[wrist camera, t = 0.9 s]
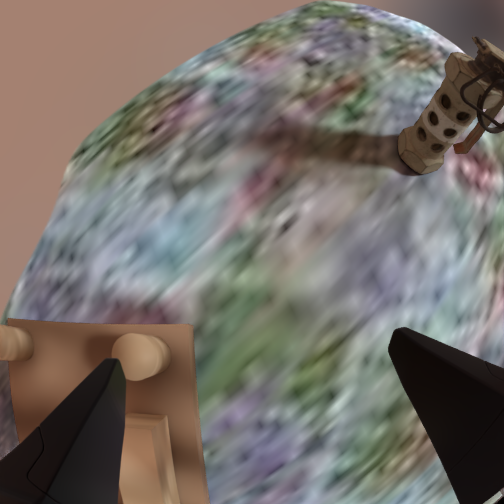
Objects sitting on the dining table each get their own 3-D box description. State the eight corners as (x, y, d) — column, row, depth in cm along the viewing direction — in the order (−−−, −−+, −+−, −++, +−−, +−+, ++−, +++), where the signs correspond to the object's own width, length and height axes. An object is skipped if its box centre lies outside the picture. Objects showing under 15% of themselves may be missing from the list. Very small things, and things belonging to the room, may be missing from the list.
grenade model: (399, 186, 24) (494, 70, 10) (394, 130, 26) (460, 19, 12) (452, 204, 24) (553, 116, 9) (444, 149, 26) (518, 57, 11)
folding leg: (185, 528, 13) (174, 560, 9) (150, 524, 13) (134, 554, 9) (167, 415, 16) (146, 434, 12) (129, 412, 16) (101, 428, 12)
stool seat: (215, 533, 15) (208, 572, 10) (49, 500, 14) (18, 520, 9) (193, 325, 20) (175, 320, 15) (21, 320, 19) (-20, 312, 14)
